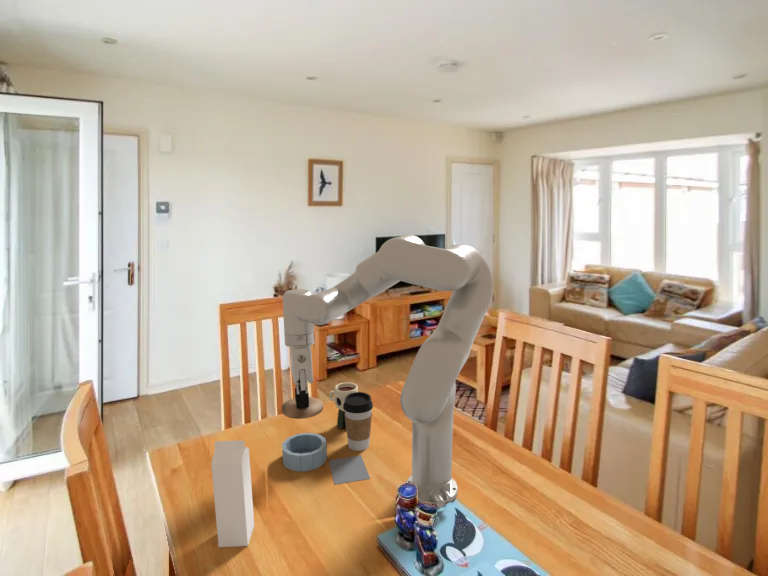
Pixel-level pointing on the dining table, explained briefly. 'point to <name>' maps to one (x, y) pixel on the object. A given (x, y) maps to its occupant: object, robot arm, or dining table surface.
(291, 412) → the lid
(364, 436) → the coffee cup
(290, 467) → the bowl
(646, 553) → the dining table surface
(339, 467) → the mat
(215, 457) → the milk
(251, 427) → the dining table surface
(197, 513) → the dining table surface
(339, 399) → the character mug
